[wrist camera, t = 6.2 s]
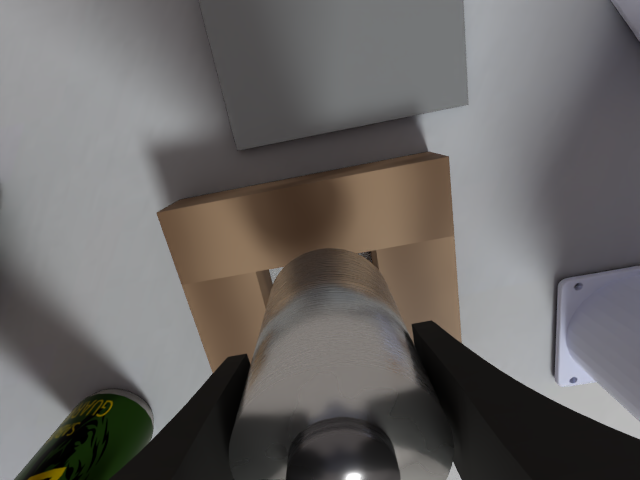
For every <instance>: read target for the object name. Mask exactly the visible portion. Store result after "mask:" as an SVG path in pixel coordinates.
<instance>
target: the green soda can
mask: <svg viewBox="0 0 640 480" xmlns="http://www.w3.org/2000/svg"><path fill="white" fill-rule="evenodd" d="M153 429H154V418H153V414H152V411H151V409H150V407H149V406H148V404H147V403H146V402H145V401H144V400H142V399H141V398H140V397H139V396H137V395H135V394H133V393H131V392H129V391H125V390H120V389H106V390H103V391H99V392H97V393H95V394H93V395H91V396H89V397H87V398H85V399H84V400H83V401H81V402H80V403H79V404H78V405H77V406H76V407H75V408H74V410H73V411H72V412H71V413H70V414H69V415H68V417H67V418H66V419H65V420H64V421H63V423H62V424H61V425H60V426H59V427H58V428H57V430H56V431H55V432H54V433H53V434H52V435H51V437H50V438H49V439H48V440H47V441H46V443H45V444H44V445H43V446H42V447H41V448H40V450H39V451H38V452H37V453H36V454H35V455H34V457H33V458H32V459H31V460H30V461H29V463H28V464H27V465H26V466H25V467H24V468H23V470H22V471H21V472H20V473H19V474H18V476H17V477H16V478H15V479H14V480H108V479H110V478H111V477H112V476H113V475H114V474H116V473H117V472H118V471H119V470H120V469H121V468H122V467H123V466H125V465H126V464H127V463H128V462H129V461H130V460H131V459H132V458H133V457H135V456H136V455H137V454H138V453H139V452H140V451H141V450H142V449H143V448H144V447H145V446H146V445H147V444H148V443H149V442H150V440H151V438H152V434H153Z"/></svg>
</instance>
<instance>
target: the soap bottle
mask: <svg viewBox="0 0 640 480" xmlns="http://www.w3.org/2000/svg"><path fill="white" fill-rule="evenodd" d="M611 2H612V3H613V4H614V6H615V7H616V9H617V10H618V12H619V13H620V14H621V16H622V17H623V19H624V20H625V21H626V23H627V24H628V26H629V27H630V29H631V30H632V31H633V33H634V34H635V36H636V37H637V38H638V40H639V41H640V0H611Z"/></svg>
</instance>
